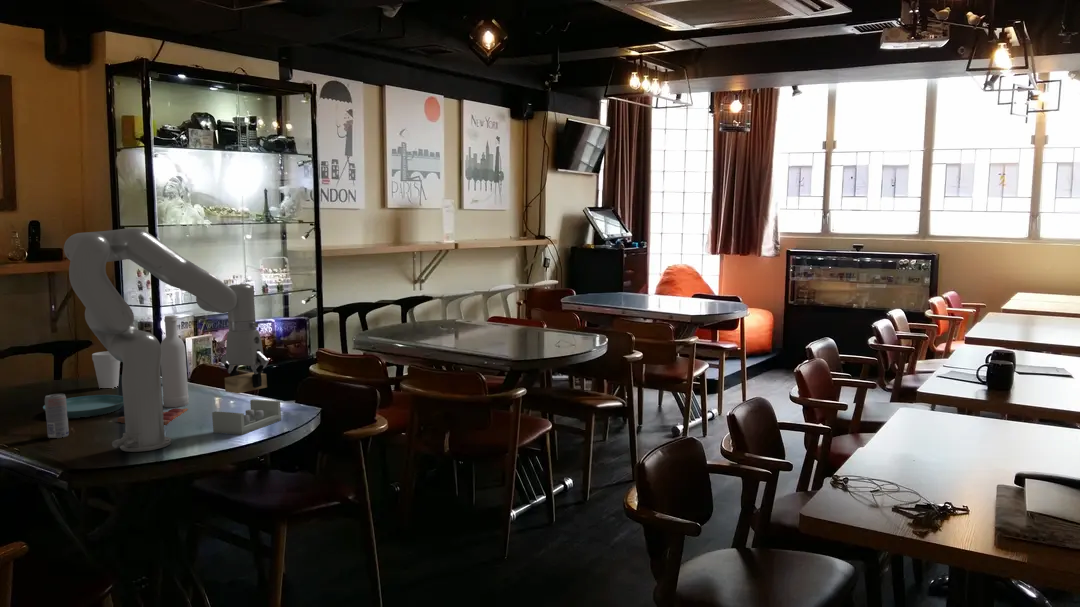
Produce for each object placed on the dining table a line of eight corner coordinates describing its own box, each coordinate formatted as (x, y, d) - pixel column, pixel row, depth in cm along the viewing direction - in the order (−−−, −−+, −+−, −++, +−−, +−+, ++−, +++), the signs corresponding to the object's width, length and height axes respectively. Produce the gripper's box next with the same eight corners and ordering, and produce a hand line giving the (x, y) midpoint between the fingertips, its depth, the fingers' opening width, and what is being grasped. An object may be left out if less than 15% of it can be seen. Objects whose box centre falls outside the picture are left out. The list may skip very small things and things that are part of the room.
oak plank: (237, 393, 245) (236, 379, 245) (225, 391, 249) (224, 377, 248) (267, 387, 253) (266, 373, 253) (254, 385, 257) (253, 372, 256)
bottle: (190, 401, 289) (185, 313, 286) (187, 406, 282) (181, 316, 279) (165, 403, 287) (159, 315, 284) (161, 408, 280) (155, 317, 277)
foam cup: (99, 385, 323) (97, 351, 321) (125, 384, 324) (123, 350, 323) (91, 390, 313) (88, 355, 312) (118, 389, 315) (115, 354, 314)
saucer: (37, 424, 263) (36, 413, 262) (49, 408, 285) (49, 399, 285) (124, 415, 272) (123, 405, 271) (129, 401, 294) (129, 391, 294)
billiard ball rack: (115, 417, 261) (164, 403, 280) (116, 424, 261) (165, 410, 280) (163, 421, 255) (210, 406, 274) (163, 428, 255) (210, 413, 274)
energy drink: (64, 433, 249) (61, 392, 248) (72, 435, 246) (68, 394, 244) (44, 437, 245) (41, 396, 244) (52, 439, 242) (48, 398, 240)
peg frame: (242, 435, 242) (240, 414, 241) (213, 432, 245) (212, 412, 245) (281, 420, 259) (280, 400, 258) (253, 418, 262) (252, 399, 262)
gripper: (275, 325, 250) (279, 385, 252) (226, 324, 256) (230, 382, 257) (258, 328, 243) (262, 390, 245) (209, 327, 249) (213, 387, 250)
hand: (246, 385), depth 251 cm, fingers closed on oak plank, 7 cm apart
